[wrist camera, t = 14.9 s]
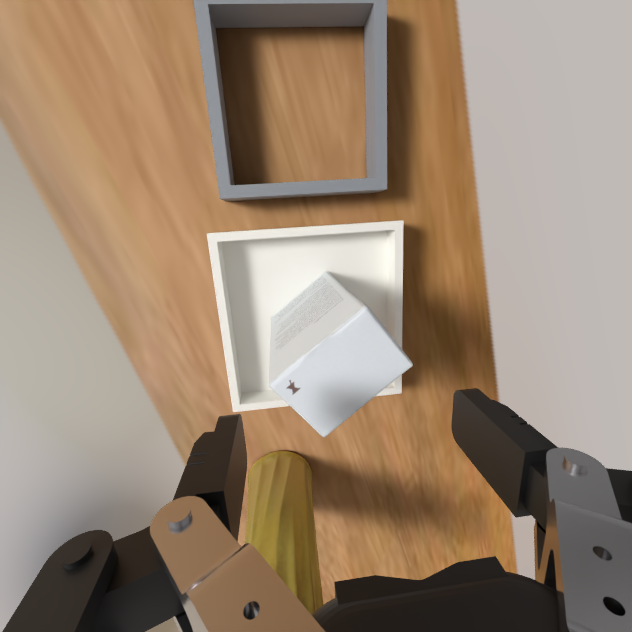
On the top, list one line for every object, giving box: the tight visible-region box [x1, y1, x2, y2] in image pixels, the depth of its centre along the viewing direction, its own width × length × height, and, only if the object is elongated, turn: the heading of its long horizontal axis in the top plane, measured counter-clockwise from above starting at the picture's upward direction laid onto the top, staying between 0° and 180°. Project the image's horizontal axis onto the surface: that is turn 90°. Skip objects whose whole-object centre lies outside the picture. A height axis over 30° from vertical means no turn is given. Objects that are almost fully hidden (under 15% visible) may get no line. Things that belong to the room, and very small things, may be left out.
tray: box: [207, 221, 403, 412], centre depth 27 cm, size 14×14×2 cm
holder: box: [194, 0, 387, 201], centre depth 22 cm, size 12×12×2 cm
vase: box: [245, 451, 323, 615], centre depth 25 cm, size 6×6×14 cm
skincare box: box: [269, 271, 413, 437], centre depth 21 cm, size 6×4×12 cm
